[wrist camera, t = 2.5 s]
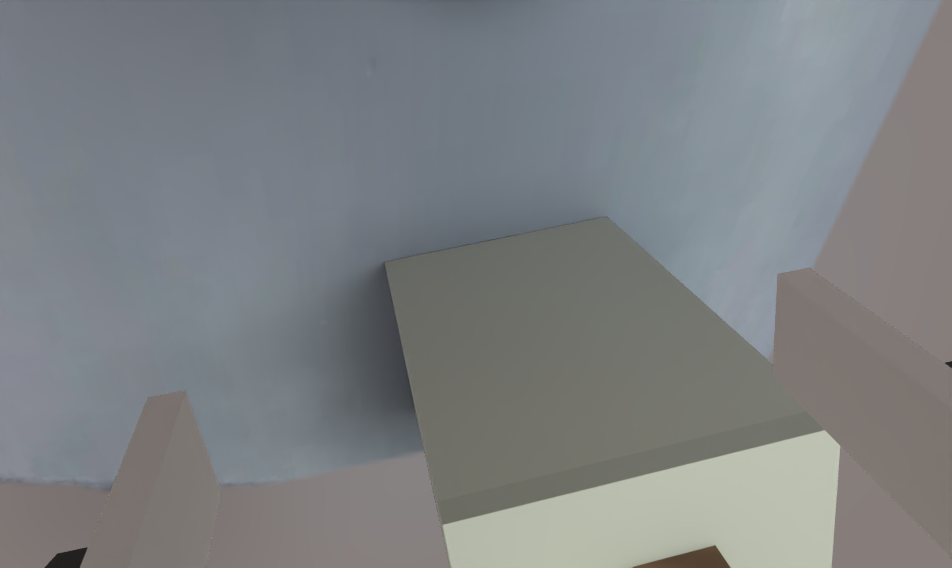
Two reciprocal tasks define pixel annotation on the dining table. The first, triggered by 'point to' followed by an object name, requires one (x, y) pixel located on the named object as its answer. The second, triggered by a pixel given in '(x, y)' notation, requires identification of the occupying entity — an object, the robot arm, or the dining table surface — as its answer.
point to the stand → (601, 412)
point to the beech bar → (691, 560)
